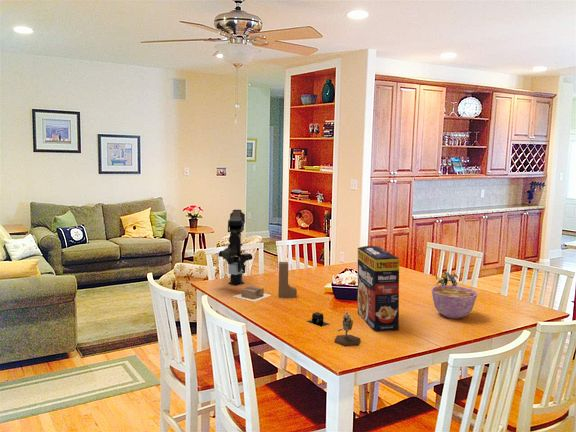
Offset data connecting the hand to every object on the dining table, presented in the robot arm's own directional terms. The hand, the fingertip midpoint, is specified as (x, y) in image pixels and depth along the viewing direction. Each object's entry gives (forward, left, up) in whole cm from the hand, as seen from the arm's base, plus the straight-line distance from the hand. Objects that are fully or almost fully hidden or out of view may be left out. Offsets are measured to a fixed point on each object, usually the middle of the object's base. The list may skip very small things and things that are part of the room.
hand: (235, 271), depth 262 cm
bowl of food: (-30, +105, -11) cm, 110 cm away
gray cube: (0, 0, -1) cm, 1 cm away
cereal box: (-1, +80, -11) cm, 81 cm away
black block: (+16, +60, -12) cm, 63 cm away
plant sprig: (-78, +88, -11) cm, 118 cm away
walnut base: (+3, +14, -10) cm, 18 cm away
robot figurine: (+28, +81, -11) cm, 86 cm away
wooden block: (-8, +28, -11) cm, 31 cm away
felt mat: (+2, +13, -11) cm, 17 cm away
